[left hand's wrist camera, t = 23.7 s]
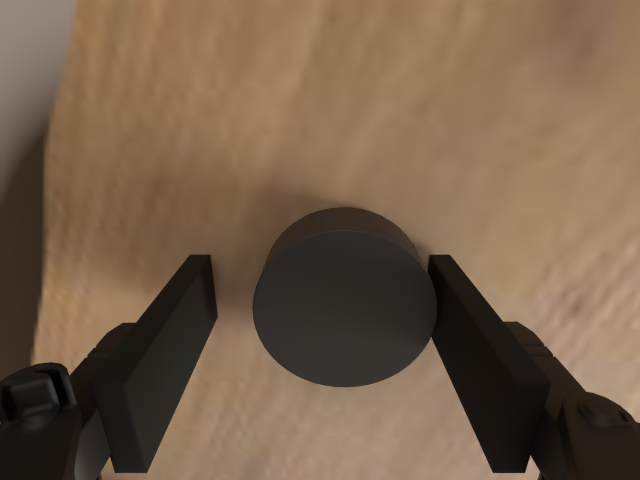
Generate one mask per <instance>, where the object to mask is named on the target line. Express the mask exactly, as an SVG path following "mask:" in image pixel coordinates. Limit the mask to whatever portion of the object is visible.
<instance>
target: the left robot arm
mask: <svg viewBox="0 0 640 480" xmlns="http://www.w3.org/2000/svg"><path fill="white" fill-rule="evenodd" d="M428 274H429V276H430V278H431V280H432V283H433V286H434V289H435V292H436V298H437V318H436V324H435V327H434V330H433V333H432V335H431V337H432V340H433V342H434V344H435V346H436V348H437V351H438V353H439V355H440V357H441V359H442V362H443V364H444V366H445V368H446V370H447V373H448V375H449V377H450V379H451V381H452V384H453V386H454V388H455V390H456V392H457V395H458V397H459V399H460V401H461V403H462V406H463V408H464V410H465V412H466V414H467V417H468V419H469V421H470V423H471V425H472V428H473V430H474V432H475V434H476V436H477V439H478V441H479V443H480V445H481V447H482V450H483V452H484V454H485V456H486V458H487V461H488V463H489V465H490V467H491V469H492V472H493V473H525V471H526V468H527V464H528V461H529V458H530V455H531V457H532V458H533V460H534V462H535V464H536V465H537V467H538V469H539V470H540V474H539V477H538V480H640V423H638V422H635V420H634V419H633V417H632V416H631V415H630V414H629V413H628V412H627V411H626V410H625V409H623V408H622V407H621V406H620V405H618V404H616V403H615V402H613V401H611V400H609V399H608V398H605V397H603V396H600V395H597V394H594V393H590V392H586V391H585V390H584V389H583V388H582V386H581V385H580V384H579V383H578V382H577V381H576V380H575V379H574V377H573V376H572V375H571V374H570V373H569V372H568V371H567V369H566V368H565V367H564V366H563V365H562V364H561V363H560V362H559V360H558V359H557V358H556V357H553V354H552V353H551V351H550V350H549V349H548V348H547V347H546V346H544V344H543V342H542V341H541V340H540V339H539V338H538V337H537V336H536V335H535V333H534V332H532V331H531V330H529V329H528V328H526V327H525V326H523V325H522V324H520V323H519V322H503V321H502V320H501V319H500V317H499V316H498V315H497V313H496V312H495V311H494V310H493V308H492V307H491V306H490V305H489V303H488V302H487V301H486V300H485V298H484V297H483V296H482V295H481V293H480V292H479V291H478V290H477V288H476V287H475V286H474V285H473V283H472V282H471V281H470V280H469V278H468V277H467V276H466V275H465V273H464V272H463V271H462V269H461V268H460V267H459V266H458V264H457V263H456V262H455V261H454V259H453V258H452V257H451V256H450V255H430V256H429V264H428ZM217 317H218V314H217V306H216V298H215V290H214V281H213V273H212V265H211V257H210V255H189V257H188V258H187V259H186V261H185V262H184V263H183V264H182V266H181V267H180V268H179V269H178V271H177V272H176V273H175V274H174V276H173V277H172V278H171V279H170V281H169V282H168V283H167V284H166V286H165V287H164V288H163V289H162V291H161V292H160V293H159V294H158V296H157V297H156V298H155V300H154V301H153V302H152V303H151V305H150V306H149V307H148V308H147V310H146V311H145V312H144V313H143V315H142V316H141V317H140V318H139V320H138V321H137V322H136V323H122V324H120V325H119V326H117V327H116V328H114V329H113V330H111V331H110V332H108V333H107V334H106V335H105V336H104V337H103V338H102V339H101V341H100V342H99V343H98V344H97V345H96V348H93V350H92V351H91V352H90V353H89V354H88V357H87V358H85V359H84V360H83V361H82V362H81V363H80V364H79V366H78V367H77V368H76V369H75V370H74V371H73V372H72V373H71V375H70V376H69V374H68V370H67V368H66V367H65V366H63V365H62V364H60V363H52V362H49V363H42V364H36V365H33V366H30V367H27V368H24V369H21V370H19V371H17V372H15V373H13V374H11V375H9V376H8V377H6V378H5V379H4V380H2V381H1V382H0V421H1V425H0V480H102V477H101V474H100V472H101V471H102V469H103V467H104V465H105V464H106V462H107V460H108V459H109V457H110V458H111V461H112V464H113V468H114V471H115V473H147V472H148V469H149V467H150V465H151V463H152V461H153V458H154V456H155V454H156V452H157V450H158V447H159V445H160V443H161V441H162V439H163V436H164V434H165V432H166V430H167V427H168V425H169V423H170V421H171V419H172V416H173V414H174V412H175V410H176V408H177V405H178V403H179V401H180V399H181V397H182V394H183V392H184V390H185V388H186V386H187V383H188V381H189V379H190V377H191V375H192V372H193V370H194V368H195V366H196V364H197V361H198V359H199V357H200V355H201V353H202V350H203V348H204V346H205V344H206V341H207V339H208V337H209V335H210V333H211V330H212V328H213V326H214V324H215V322H216V319H217Z"/></svg>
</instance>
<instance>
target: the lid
mask: <svg viewBox="0 0 640 480" xmlns="http://www.w3.org/2000/svg"><path fill="white" fill-rule="evenodd" d="M253 318H254V323H255V327H256V330H257V333H258V335H259V338H260V340H261V342H262V343H263V345H264V347H265V348H266V350H267V351H268V352H269V354H270V355H271V356H272V357H273V358H274V359H275V360H276V361H277V362H278V363H279V364H280V365H282V366H283V367H284V368H285V369H287V370H288V371H290V372H291V373H293V374H295V375H297V376H299V377H301V378H303V379H305V380H308V381H311V382H314V383H317V384H321V385H326V386H333V387H357V386H363V385H369V384H372V383H376V382H379V381H382V380H384V379H387V378H389V377H391V376H393V375H395V374H397V373H399V372H400V371H402V370H403V369H404V368H406V367H407V366H408V365H410V364H411V363H412V362H413V361H414V360H415V359H416V358H417V357H418V356H419V355H420V353H421V352H422V351H423V350H424V348H425V347H426V345H427V343H428V342H429V340H430V338H431V335H432V333H433V330H434V327H435V324H436V318H437V298H436V292H435V289H434V286H433V283H432V280H431V278H430V276H429V274H428V272H427V270H426V269H425V267H424V265H423V263H422V261H421V259H420V257H419V255H418V253H417V251H416V249H415V247H414V245H413V243H412V242H411V241H410V239H409V238H408V237H407V235H406V234H405V233H404V232H403V231H402V230H401V229H400V228H399V227H398V226H396V225H395V224H394V223H392V222H391V221H389V220H388V219H386V218H384V217H382V216H380V215H378V214H375V213H373V212H370V211H366V210H362V209H356V208H331V209H325V210H321V211H317V212H315V213H312V214H309V215H307V216H305V217H303V218H301V219H300V220H298V221H296V222H295V223H294V224H292V225H291V226H289V227H288V228H287V229H286V230H285V231H284V232H283V233H282V234H281V235H280V237H279V238H278V239H277V241H276V242H275V244H274V245H273V247H272V249H271V251H270V253H269V256H268V258H267V261H266V263H265V266H264V269H263V271H262V274H261V276H260V279H259V281H258V284H257V286H256V290H255V294H254V298H253Z"/></svg>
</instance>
